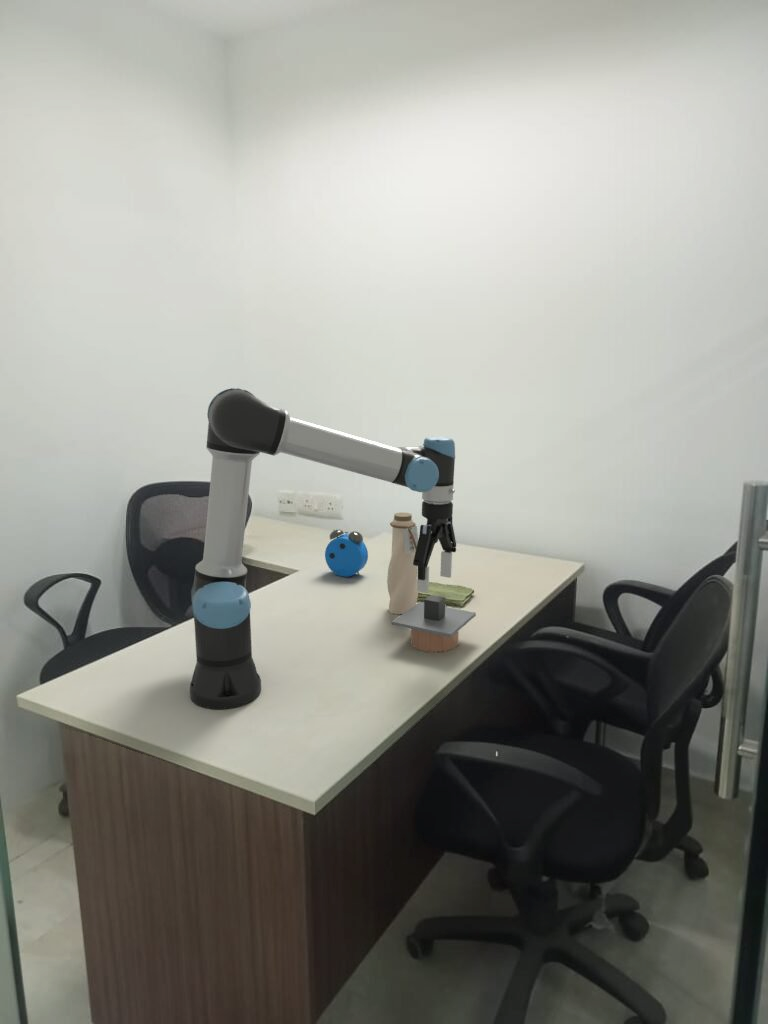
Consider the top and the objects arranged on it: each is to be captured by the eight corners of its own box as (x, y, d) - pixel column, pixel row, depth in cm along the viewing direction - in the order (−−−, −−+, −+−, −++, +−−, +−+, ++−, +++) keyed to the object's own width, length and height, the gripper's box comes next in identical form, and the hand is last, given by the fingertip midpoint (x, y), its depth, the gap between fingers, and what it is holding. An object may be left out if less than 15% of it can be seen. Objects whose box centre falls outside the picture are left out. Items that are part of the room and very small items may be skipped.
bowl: (445, 655, 176) (446, 632, 175) (403, 645, 182) (403, 623, 180) (464, 638, 186) (465, 616, 185) (423, 629, 192) (423, 608, 190)
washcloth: (463, 609, 208) (464, 599, 207) (406, 601, 214) (406, 591, 213) (475, 595, 219) (475, 585, 219) (420, 588, 226) (420, 578, 225)
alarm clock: (368, 574, 237) (368, 530, 233) (360, 580, 231) (360, 535, 228) (332, 569, 241) (332, 526, 238) (324, 575, 236) (323, 530, 232)
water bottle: (427, 610, 205) (429, 515, 199) (406, 619, 199) (408, 520, 192) (400, 601, 212) (402, 509, 206) (379, 609, 206) (380, 514, 199)
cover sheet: (450, 637, 172) (451, 614, 171) (391, 624, 179) (391, 602, 178) (475, 615, 186) (476, 594, 184) (419, 604, 193) (420, 584, 192)
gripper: (429, 512, 163) (426, 601, 168) (471, 493, 184) (467, 573, 189) (400, 508, 166) (398, 595, 171) (444, 490, 188) (441, 568, 193)
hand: (434, 584), depth 180 cm, fingers open, 13 cm apart
